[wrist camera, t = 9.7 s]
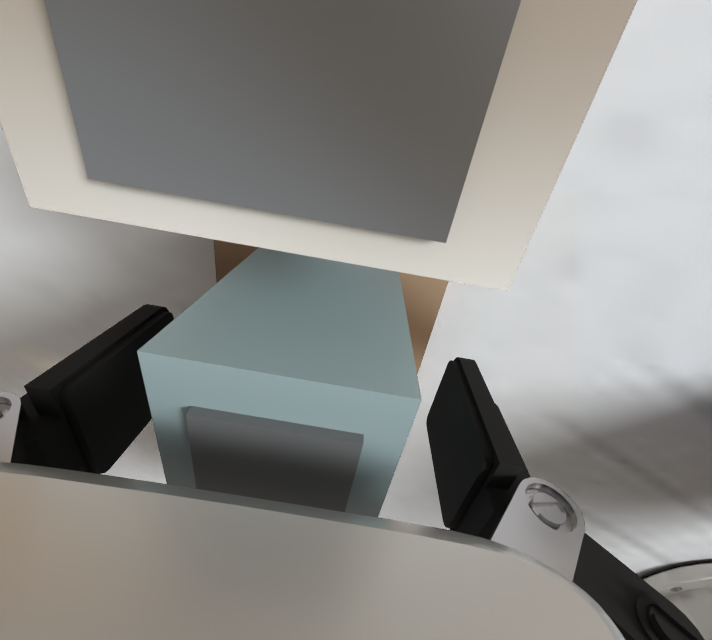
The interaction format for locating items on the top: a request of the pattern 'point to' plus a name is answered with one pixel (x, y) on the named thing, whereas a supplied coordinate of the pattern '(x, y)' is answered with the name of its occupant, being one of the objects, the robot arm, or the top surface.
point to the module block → (287, 384)
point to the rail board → (310, 124)
